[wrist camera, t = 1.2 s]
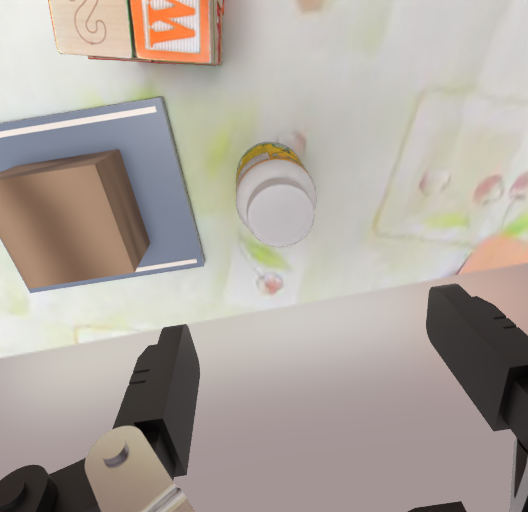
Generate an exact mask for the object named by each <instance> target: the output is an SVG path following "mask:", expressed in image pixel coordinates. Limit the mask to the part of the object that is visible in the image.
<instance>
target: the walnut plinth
mask: <svg viewBox="0 0 528 512" xmlns="http://www.w3.org/2000/svg"><path fill="white" fill-rule="evenodd" d="M0 238H1V240H2V241H3V243H4V245H5V247H6V249H7V250H8V252H9V254H10V256H11V258H12V260H13V261H14V263H15V265H16V267H17V269H18V271H19V272H20V274H21V276H22V278H23V280H24V281H25V283H26V285H27V287H28V289H32V288H38V287H45V286H51V285H58V284H64V283H70V282H77V281H83V280H90V279H96V278H103V277H109V276H116V275H122V274H129V273H135V271H136V269H137V267H138V265H139V264H140V262H141V260H142V258H143V256H144V254H145V252H146V251H147V249H148V247H149V245H150V240H149V237H148V234H147V231H146V228H145V225H144V222H143V219H142V216H141V213H140V210H139V207H138V204H137V201H136V198H135V195H134V192H133V189H132V186H131V183H130V180H129V177H128V174H127V171H126V168H125V165H124V162H123V159H122V156H121V153H120V150H119V149H116V150H110V151H104V152H98V153H92V154H85V155H79V156H73V157H67V158H61V159H54V160H48V161H42V162H36V163H30V164H24V165H17V166H14V167H12V168H9V169H7V170H5V171H2V172H0Z"/></svg>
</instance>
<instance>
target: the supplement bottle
mask: <svg viewBox="0 0 528 512" xmlns="http://www.w3.org/2000/svg"><path fill="white" fill-rule="evenodd" d="M316 201H317V195H316V189H315V186H314V183H313V181H312V178H311V177H310V175H309V174H308V173H307V171H306V169H305V168H304V166H303V165H302V163H301V162H300V160H299V159H298V157H297V156H296V155H295V153H294V152H293V151H292V150H290V149H289V148H288V147H286V146H284V145H281V144H278V143H273V142H264V143H260V144H257V145H255V146H253V147H252V148H250V149H249V150H248V151H247V152H246V153H245V154H244V155H243V157H242V158H241V160H240V162H239V165H238V168H237V177H236V206H237V210H238V213H239V216H240V218H241V219H242V221H243V223H244V224H245V225H246V226H247V227H248V228H249V229H250V230H251V232H252V233H253V234H254V236H255V237H256V238H257V239H258V240H260V241H261V242H263V243H265V244H267V245H270V246H275V247H284V246H289V245H292V244H295V243H297V242H298V241H300V240H301V239H302V238H304V237H305V236H306V235H307V233H308V232H309V230H310V229H311V227H312V225H313V221H314V211H315V207H316Z"/></svg>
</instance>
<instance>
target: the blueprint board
mask: <svg viewBox="0 0 528 512" xmlns="http://www.w3.org/2000/svg"><path fill="white" fill-rule="evenodd" d="M116 149H119V150H120V153H121V156H122V159H123V162H124V165H125V168H126V171H127V174H128V177H129V180H130V183H131V186H132V189H133V192H134V195H135V198H136V201H137V204H138V207H139V210H140V213H141V216H142V219H143V222H144V225H145V228H146V231H147V234H148V237H149V240H150V245H149V247H148V249H147V251H146V252H145V254H144V256H143V258H142V260H141V262H140V264H139V265H138V267H137V269H136V271H135V273H129V274H122V275H116V276H109V277H103V278H96V279H90V280H83V281H77V282H70V283H64V284H58V285H51V286H45V287H38V288H32V289H28V290H29V291H30V293H34V292H40V291H46V290H53V289H59V288H66V287H72V286H79V285H85V284H92V283H98V282H105V281H111V280H118V279H124V278H130V277H137V276H143V275H150V274H156V273H163V272H169V271H176V270H182V269H189V268H195V267H202V266H204V263H205V259H204V255H203V251H202V247H201V243H200V239H199V236H198V232H197V228H196V224H195V220H194V216H193V212H192V208H191V204H190V200H189V197H188V193H187V189H186V185H185V181H184V177H183V173H182V169H181V165H180V161H179V158H178V154H177V150H176V146H175V142H174V138H173V134H172V130H171V126H170V122H169V119H168V115H167V111H166V107H165V103H164V99H163V97H157V98H151V99H145V100H139V101H133V102H127V103H121V104H115V105H109V106H103V107H96V108H90V109H84V110H78V111H72V112H66V113H60V114H54V115H48V116H42V117H36V118H30V119H24V120H17V121H11V122H5V123H0V172H2V171H5V170H7V169H9V168H12V167H14V166H17V165H24V164H30V163H36V162H42V161H48V160H54V159H61V158H67V157H73V156H79V155H85V154H92V153H98V152H104V151H110V150H116ZM0 239H1V238H0ZM1 241H2V240H1ZM2 242H3V241H2ZM3 244H4V243H3ZM4 246H5V245H4ZM5 248H6V247H5ZM6 250H7V249H6ZM7 251H8V250H7ZM8 253H9V252H8ZM9 255H10V254H9ZM10 257H11V256H10ZM11 259H12V258H11ZM12 261H13V260H12ZM13 262H14V261H13ZM14 264H15V263H14ZM15 266H16V265H15ZM16 268H17V267H16ZM17 270H18V269H17ZM19 273H20V272H19ZM20 275H21V274H20ZM21 277H22V276H21ZM22 279H23V278H22ZM23 281H24V280H23ZM24 282H25V281H24ZM25 284H26V283H25ZM26 286H27V285H26ZM27 288H28V287H27Z"/></svg>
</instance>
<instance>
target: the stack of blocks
mask: <svg viewBox="0 0 528 512" xmlns="http://www.w3.org/2000/svg"><path fill="white" fill-rule="evenodd" d="M48 2H49V8H50V13H51V19H52V24H53V30H54V35H55V41H56V46H57V49H58V52H59V53H61V54H73V55H87V56H88V58H89V59H101V60H122V61H137V62H151V63H170V64H196V65H213V66H216V65H220V66H221V65H222V16H223V14H224V0H48Z"/></svg>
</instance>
